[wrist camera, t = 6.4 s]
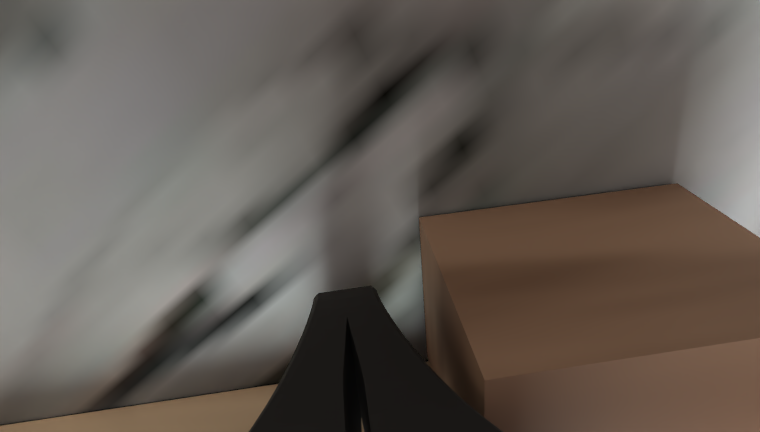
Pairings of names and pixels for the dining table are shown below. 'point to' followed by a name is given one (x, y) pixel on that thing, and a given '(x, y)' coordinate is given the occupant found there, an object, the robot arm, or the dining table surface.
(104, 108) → the dining table surface
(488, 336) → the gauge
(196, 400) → the board
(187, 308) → the dining table surface
